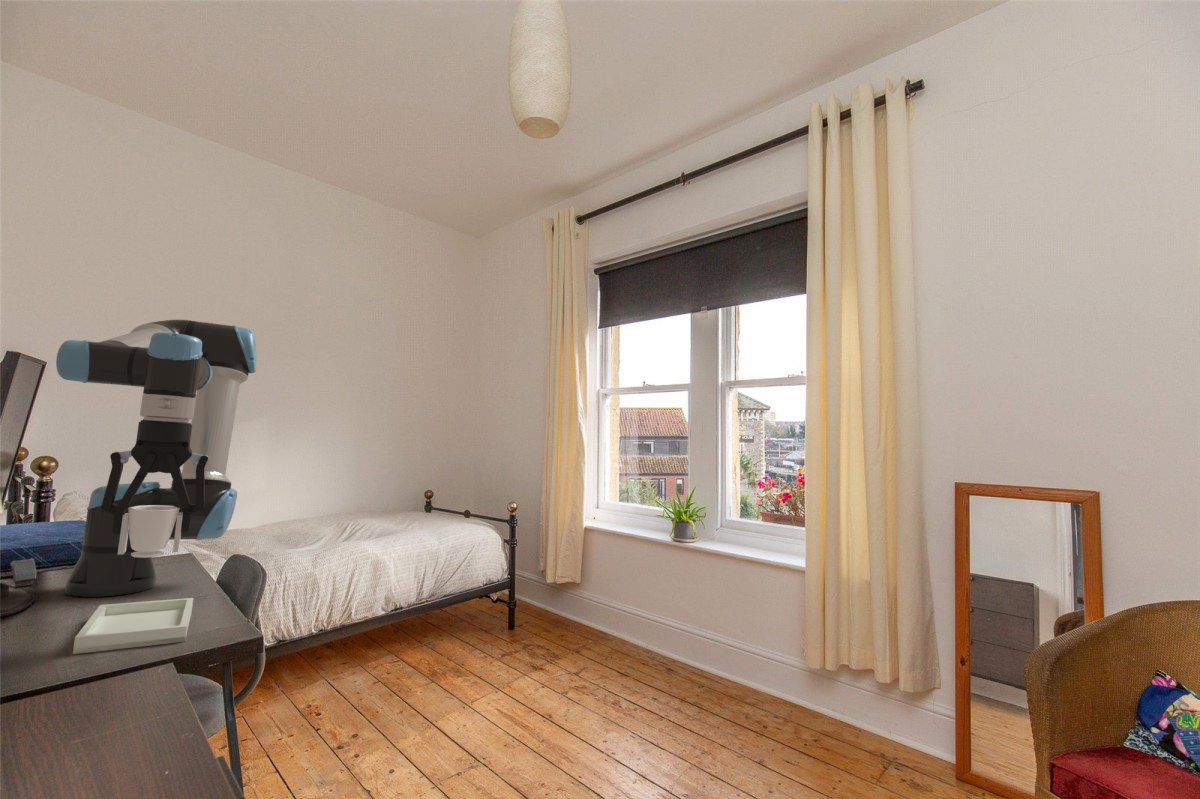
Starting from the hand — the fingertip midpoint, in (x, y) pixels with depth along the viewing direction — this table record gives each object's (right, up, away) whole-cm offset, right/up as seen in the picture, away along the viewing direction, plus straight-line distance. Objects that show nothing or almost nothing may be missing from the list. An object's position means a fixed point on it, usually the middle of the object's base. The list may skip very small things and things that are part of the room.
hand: (149, 551), depth 96 cm
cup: (0, -1, 0) cm, 1 cm away
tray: (-3, -14, +1) cm, 15 cm away
